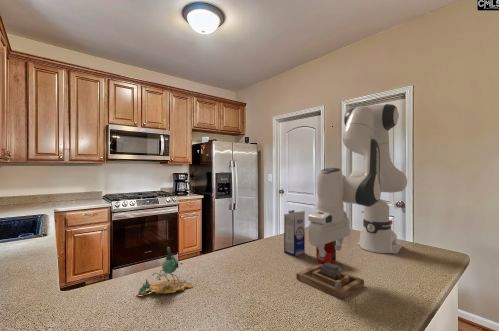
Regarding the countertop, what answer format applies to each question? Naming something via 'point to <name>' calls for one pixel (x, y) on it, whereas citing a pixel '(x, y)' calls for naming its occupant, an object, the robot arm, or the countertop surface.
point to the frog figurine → (166, 286)
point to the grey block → (331, 271)
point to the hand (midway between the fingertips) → (330, 252)
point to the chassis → (330, 282)
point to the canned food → (327, 253)
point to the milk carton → (294, 233)
